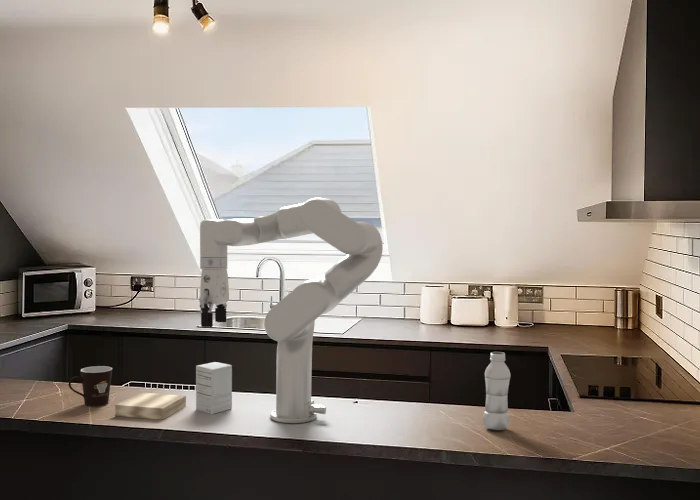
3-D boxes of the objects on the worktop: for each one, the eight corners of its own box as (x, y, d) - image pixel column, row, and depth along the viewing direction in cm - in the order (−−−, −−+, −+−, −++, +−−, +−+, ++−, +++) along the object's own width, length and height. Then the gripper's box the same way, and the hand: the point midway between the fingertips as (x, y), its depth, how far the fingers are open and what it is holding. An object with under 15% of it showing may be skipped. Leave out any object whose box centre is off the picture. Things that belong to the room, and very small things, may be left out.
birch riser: (185, 406, 203) (185, 395, 202) (162, 419, 189) (162, 408, 189) (141, 402, 206) (141, 392, 205) (115, 415, 192) (115, 404, 192)
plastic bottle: (480, 425, 188) (482, 350, 187) (506, 426, 187) (508, 351, 187) (484, 432, 181) (486, 355, 180) (511, 433, 181) (513, 355, 180)
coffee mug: (112, 399, 209) (112, 365, 209) (112, 406, 201) (112, 371, 201) (70, 401, 206) (70, 367, 205) (68, 409, 197) (68, 374, 197)
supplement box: (215, 404, 205) (215, 361, 204) (232, 409, 200) (232, 364, 200) (195, 409, 199) (195, 365, 199) (212, 414, 195) (212, 369, 194)
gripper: (214, 265, 189) (214, 329, 189) (237, 262, 206) (237, 320, 206) (187, 265, 190) (188, 328, 191) (213, 261, 207) (213, 319, 208)
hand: (214, 324), depth 199 cm, fingers open, 9 cm apart
